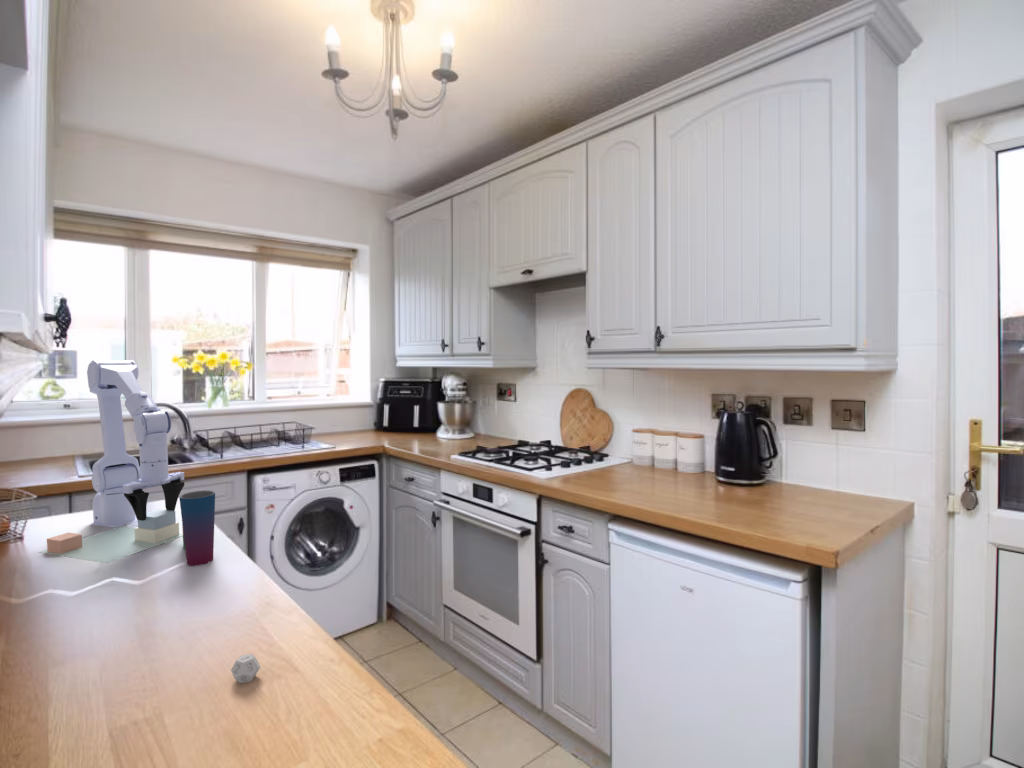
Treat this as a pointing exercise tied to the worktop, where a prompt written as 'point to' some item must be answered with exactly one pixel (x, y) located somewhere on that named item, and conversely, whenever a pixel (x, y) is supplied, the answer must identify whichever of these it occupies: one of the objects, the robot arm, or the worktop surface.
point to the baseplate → (110, 545)
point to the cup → (198, 525)
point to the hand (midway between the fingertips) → (156, 515)
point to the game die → (245, 668)
